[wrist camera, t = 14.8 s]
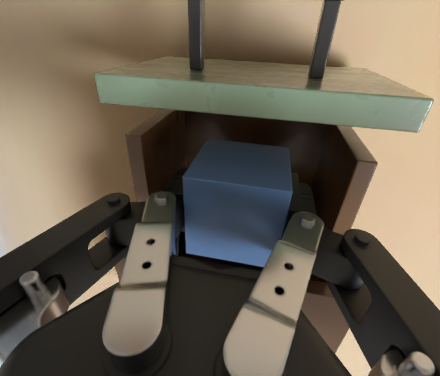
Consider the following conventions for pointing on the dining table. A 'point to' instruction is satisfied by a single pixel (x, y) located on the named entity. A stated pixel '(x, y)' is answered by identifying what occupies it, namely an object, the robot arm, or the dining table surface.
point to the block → (236, 200)
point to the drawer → (262, 117)
